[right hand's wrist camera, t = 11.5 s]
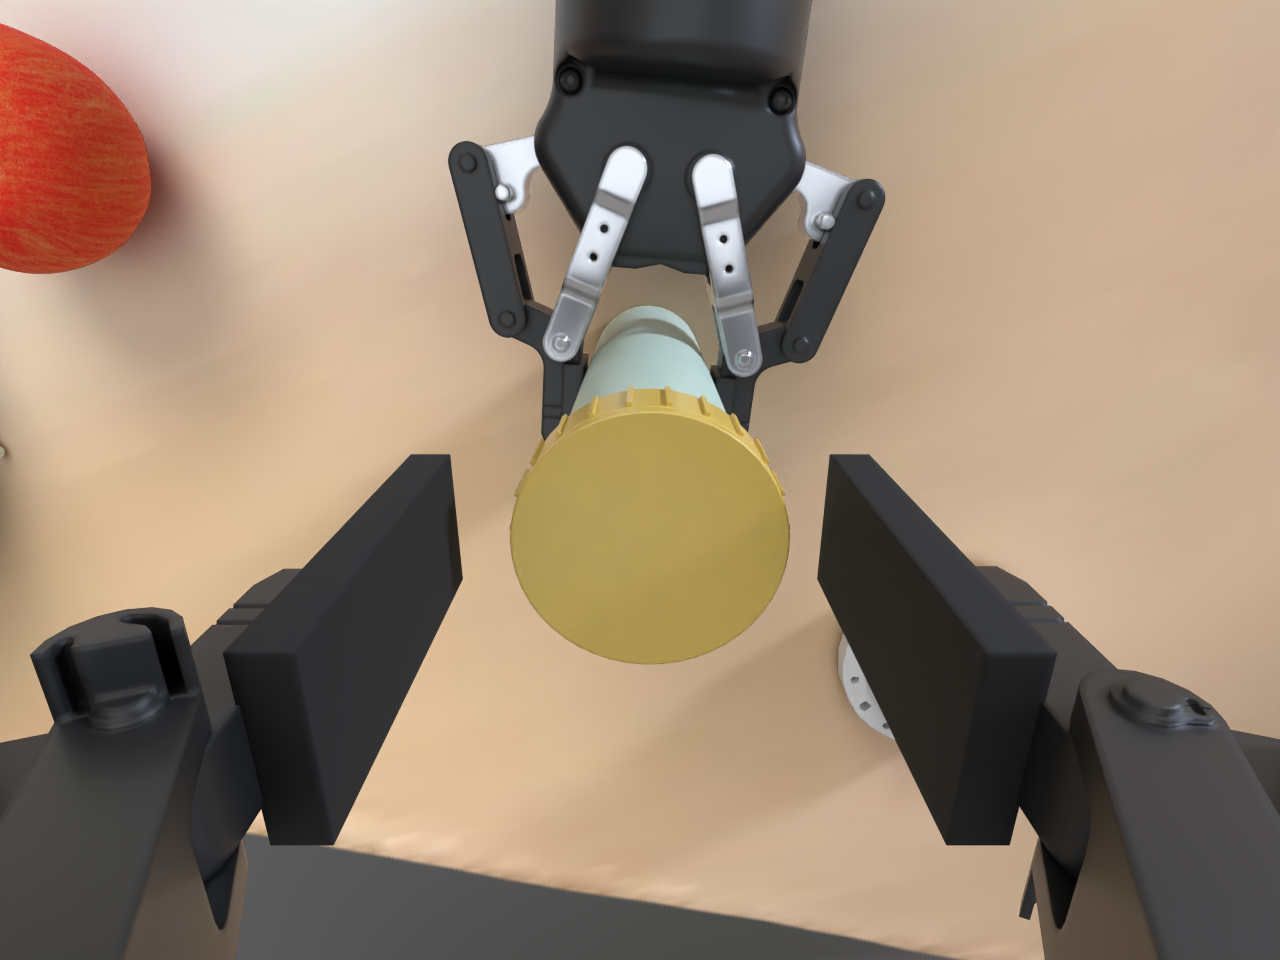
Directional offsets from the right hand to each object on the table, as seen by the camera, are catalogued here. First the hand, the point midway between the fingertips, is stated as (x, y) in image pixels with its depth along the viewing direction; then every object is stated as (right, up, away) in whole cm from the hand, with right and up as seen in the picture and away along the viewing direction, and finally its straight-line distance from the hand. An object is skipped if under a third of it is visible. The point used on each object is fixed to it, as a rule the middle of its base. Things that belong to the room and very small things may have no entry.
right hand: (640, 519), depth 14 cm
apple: (-22, +14, +14) cm, 30 cm away
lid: (0, 0, 0) cm, 1 cm away
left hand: (0, +1, +12) cm, 12 cm away
